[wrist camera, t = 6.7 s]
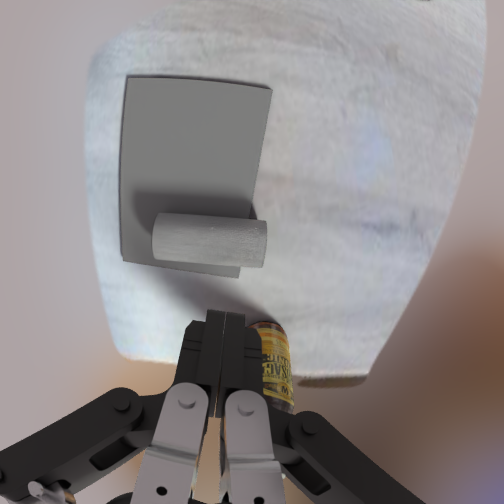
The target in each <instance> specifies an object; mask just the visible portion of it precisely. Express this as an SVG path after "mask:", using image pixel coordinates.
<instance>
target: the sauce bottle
mask: <svg viewBox="0 0 504 504" xmlns="http://www.w3.org/2000/svg"><path fill="white" fill-rule="evenodd" d="M248 328H255V329H257V331H258V333H259V335H260V337H261V338H262V365H263V392H264V396H265V398H266V400H267V401H268V402H269V403H270V404H271V405H272V406H273V407H275V408H276V409H278V410H281V411H284V412H287V413H290V414H292V412H293V409H294V400H293V387H292V375H291V365H290V353H289V343H288V340H287V336H286V333H285V331H284V330H283V328H282V327H280V326H279V325H277V324H273V323H268V322H258V323H256V324H253V325H251V326H249V327H248ZM281 472H282V471H281ZM285 477H286V475H285V474H284V473H283V472H282V479H283V478H285Z"/></svg>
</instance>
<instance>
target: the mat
mask: <svg viewBox="0 0 504 504" xmlns="http://www.w3.org/2000/svg"><path fill="white" fill-rule="evenodd" d="M272 91H273V90H270V89H264V88H258V87H252V86H245V85H238V84H230V83H222V82H213V81H202V80H189V79H171V78H128V83H127V91H126V100H125V110H124V120H123V133H122V150H121V184H120V203H121V237H122V254H123V261H126V262H132V263H138V264H144V265H151V266H157V267H163V268H170V269H176V270H183V271H189V272H196V273H203V274H210V275H217V276H224V277H231V278H239V272H240V267H239V266H226V265H215V264H203V263H191V262H180V261H169V260H158V259H155V258H154V256H153V253H152V246H151V237H152V228H153V224H154V220H155V218H156V216H157V214H158V213H176V214H191V215H204V216H217V217H230V218H241V219H249V216H250V210H251V205H252V199H253V194H254V188H255V183H256V177H257V172H258V166H259V161H260V156H261V150H262V145H263V139H264V134H265V129H266V123H267V118H268V113H269V107H270V102H271V97H272Z"/></svg>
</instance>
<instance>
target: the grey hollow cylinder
mask: <svg viewBox="0 0 504 504" xmlns="http://www.w3.org/2000/svg"><path fill="white" fill-rule="evenodd" d="M266 241H267V223H266V221H262V220H253V219H241V218H230V217H217V216H204V215H191V214H176V213H158V214H157V216H156V218H155V220H154V224H153V228H152V237H151V246H152V253H153V256H154V258H155V259H158V260H169V261H180V262H191V263H203V264H215V265H226V266H239V267H251V268H262V267H263V264H264V259H265V252H266Z"/></svg>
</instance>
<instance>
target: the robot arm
mask: <svg viewBox="0 0 504 504" xmlns="http://www.w3.org/2000/svg"><path fill="white" fill-rule="evenodd" d="M425 1H429V0H425ZM224 322H225V327H224ZM223 331H224V334H223ZM216 397H217V402H216ZM215 403H216V413H215V417H216V418H221V423H220V432H219V466H220V483H219V500H220V503H218V504H286V501H285V494H284V487H283V479H282V472H283V473H284V474H285V475H286V476H287V477H288V478H289V479H290V480H291V481H292V482H293V483H294V484H295V485H296V486H297V487H298V488H299V489H300V490H301V491H302V492H303V493H304V494H305V495H306V496H307V497H308V498H309V499H310V500H312V501H313V502H314V503H315V504H426V503H424V502H423V501H422V500H420V499H419V498H418V497H416V496H415V495H414V494H412V493H411V492H410V491H409V490H407V489H406V488H405V487H404V486H402V485H401V484H400V483H398V482H397V481H396V480H395V479H393V478H392V477H391V476H390V475H389V474H387V473H386V472H385V471H384V470H382V469H381V468H380V467H379V466H378V465H376V464H375V463H374V462H373V461H372V460H371V459H369V458H368V457H367V456H366V455H365V454H364V453H362V452H361V451H360V450H359V449H358V448H357V447H355V446H354V445H353V444H352V443H351V442H350V441H349V440H348V439H346V438H345V437H344V436H343V435H342V434H341V433H340V432H339V431H338V430H336V429H335V428H334V427H333V426H332V425H331V424H330V423H329V422H328V421H327V420H326V419H325V418H324V417H322V416H321V415H320V414H318V413H315V412H311V411H303V412H300V413H297V414H296V415H293V414H290V413H287V412H284V411H281V410H278V409H276V408H275V407H273V406H272V405H271V404H270V403H269V402H268V401H267V400H266V398H265V396H264V392H263V365H262V338H261V337H260V335H259V333H258V331H257V329H255V328H247V327H245V314H238V313H230V312H227V315H226V321H225V312H222V311H215V310H208V311H207V316H206V322H202V321H195V320H193V321H192V322H191V323H190V324H189V325H188V327H187V328H186V330H185V334H184V338H183V342H182V347H181V351H180V356H179V360H178V365H177V369H176V374H175V378H174V382H173V384H172V385H171V387H170V388H169V389H168V390H166V391H165V392H163V393H160V394H157V395H148V396H139V395H138V394H137V393H136V392H134V391H133V390H131V389H128V388H123V387H121V388H120V387H119V388H115V389H112V390H110V391H108V392H106V393H105V394H103V395H102V396H100V397H98V398H96V399H95V400H93V401H91V402H90V403H88V404H86V405H84V406H83V407H81V408H79V409H77V410H76V411H74V412H72V413H71V414H69V415H67V416H65V417H63V418H62V419H60V420H58V421H56V422H54V423H53V424H51V425H49V426H47V427H45V428H44V429H42V430H40V431H38V432H36V433H34V434H32V435H31V436H29V437H27V438H25V439H23V440H21V441H19V442H17V443H15V444H14V445H12V446H10V447H8V448H6V449H4V450H2V451H0V495H1V496H2V497H4V498H5V499H6V500H7V501H8V503H9V504H76V500H75V498H74V494H75V493H77V492H79V491H81V490H83V489H84V488H86V487H87V486H89V485H91V484H93V483H94V482H96V481H97V480H99V479H101V478H102V477H104V476H106V475H107V474H109V473H110V472H112V471H113V470H115V469H116V468H118V467H120V466H121V465H123V464H124V463H126V462H127V461H129V460H130V459H131V458H133V457H134V456H136V455H137V454H139V453H140V452H142V451H143V450H145V449H146V448H147V449H146V451H145V454H144V457H143V460H142V463H141V467H140V470H139V474H138V477H137V481H136V484H135V488H134V492H130V493H126V494H123V495H120V496H118V497H116V498H114V499H113V500H111V501H110V502H108V503H107V504H206V503H203V502H200V501H197V500H194V499H193V496H194V491H195V485H196V478H197V472H198V467H199V462H200V457H201V451H202V446H203V441H204V436H205V434H206V432H207V426H208V417H213V416H214V410H215ZM281 471H282V472H281Z"/></svg>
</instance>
